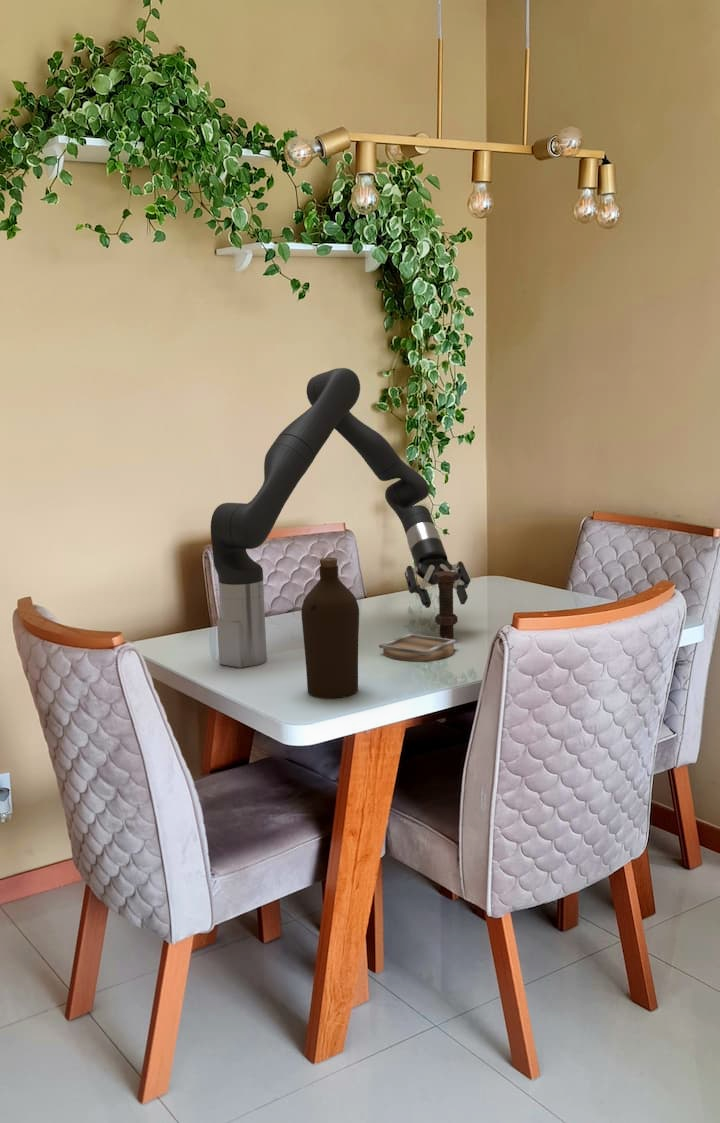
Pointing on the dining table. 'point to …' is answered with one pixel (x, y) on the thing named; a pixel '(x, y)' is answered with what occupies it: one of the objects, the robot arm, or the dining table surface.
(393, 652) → the tray
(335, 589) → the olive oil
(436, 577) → the bolt
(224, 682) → the dining table surface
